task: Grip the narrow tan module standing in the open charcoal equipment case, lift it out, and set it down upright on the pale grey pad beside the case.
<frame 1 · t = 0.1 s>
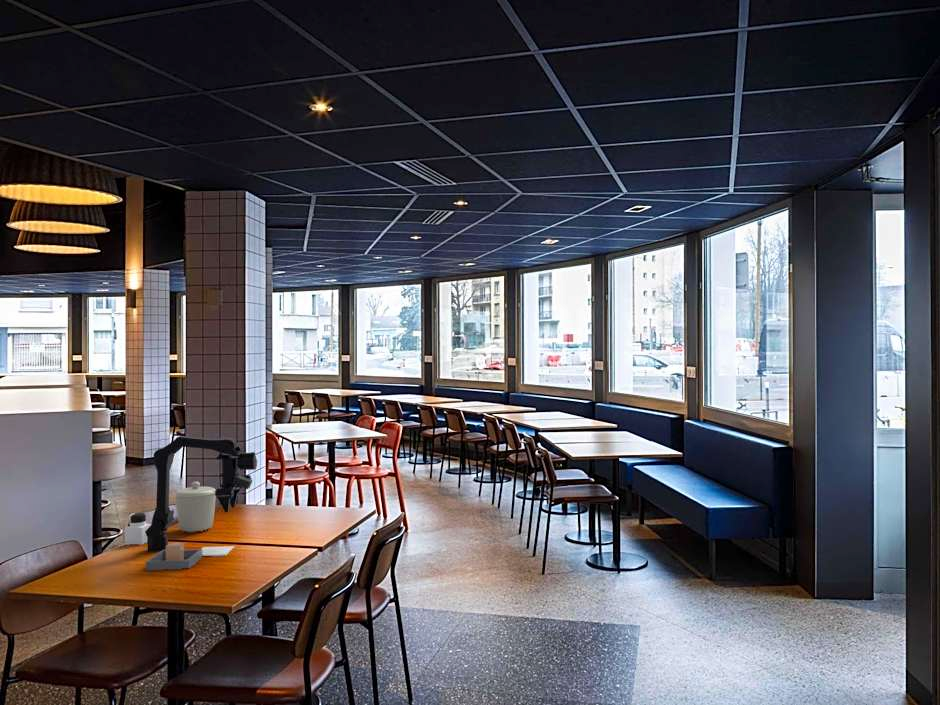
hand: (229, 510, 285), 15 cm above the table, tool pointing down, fingers open, 9 cm apart
tan module: (174, 554, 263), in the charcoal case
canister: (196, 530, 316), on the table
grey pad: (214, 552, 278), on the table
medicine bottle: (138, 543, 295), on the table
charcoal case: (175, 563, 263), on the table
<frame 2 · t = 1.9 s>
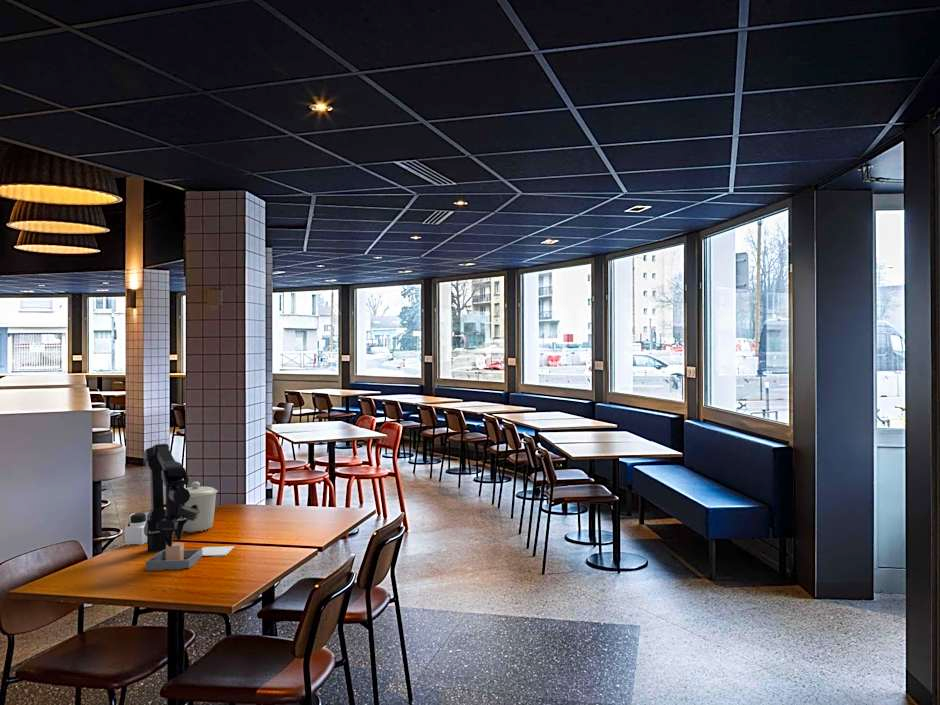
hand: (174, 543, 264), 7 cm above the table, tool pointing down, fingers open, 9 cm apart
nothing on the table moved.
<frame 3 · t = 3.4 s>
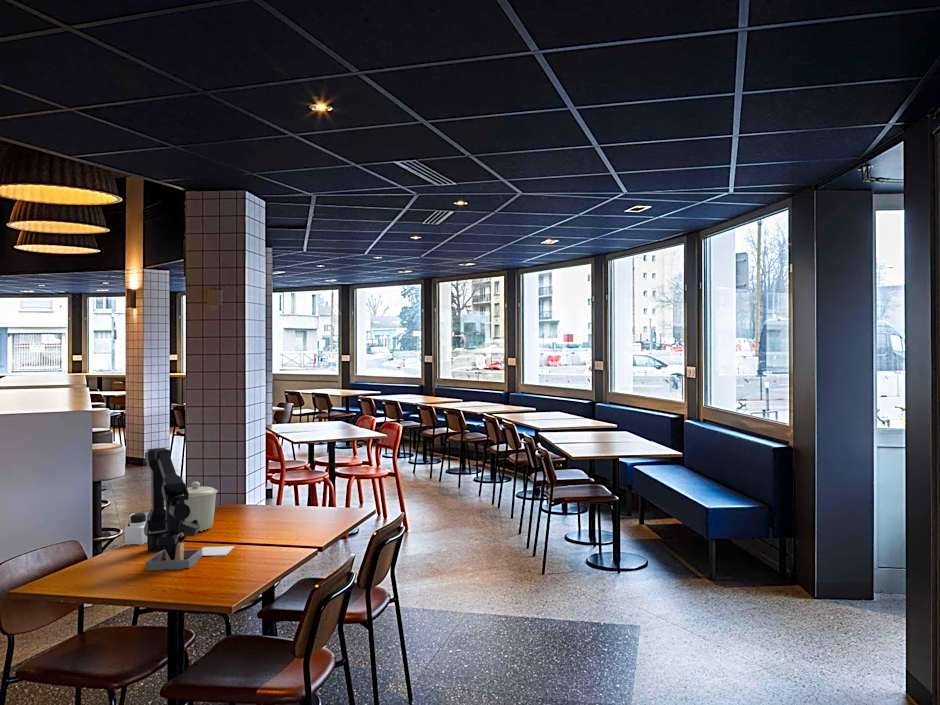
hand: (175, 558, 264), 2 cm above the table, tool pointing down, fingers closed on tan module, 4 cm apart
tan module: (174, 553, 264), in the charcoal case, touching gripper
everything else where it was.
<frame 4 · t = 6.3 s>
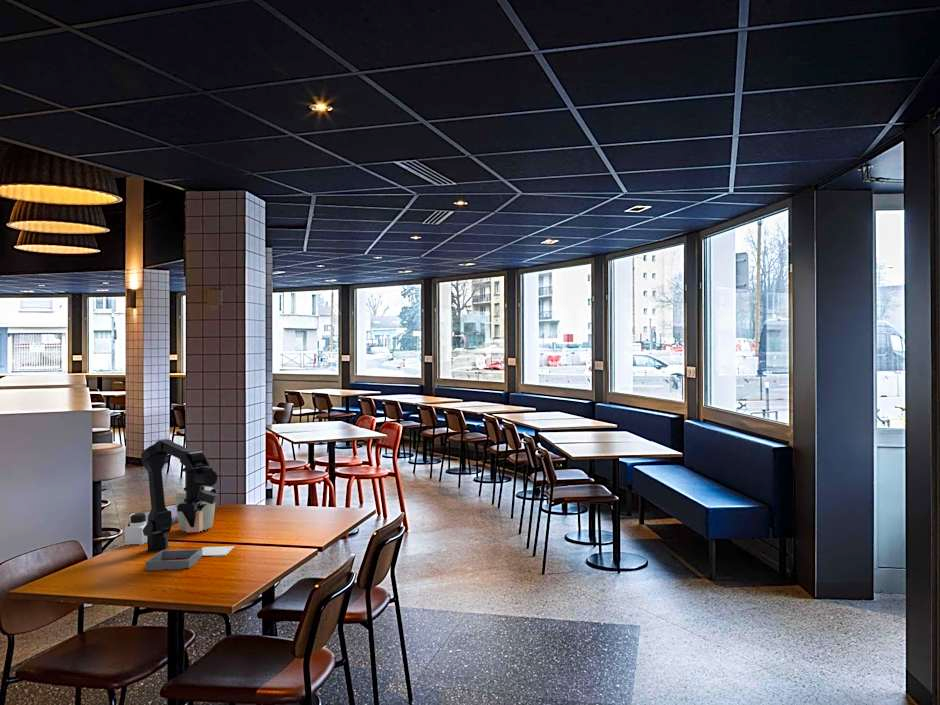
hand: (194, 525, 271), 12 cm above the table, tool pointing down, fingers closed on tan module, 4 cm apart
tan module: (194, 521, 271), point 14 cm above the table, touching gripper
everything else where it was.
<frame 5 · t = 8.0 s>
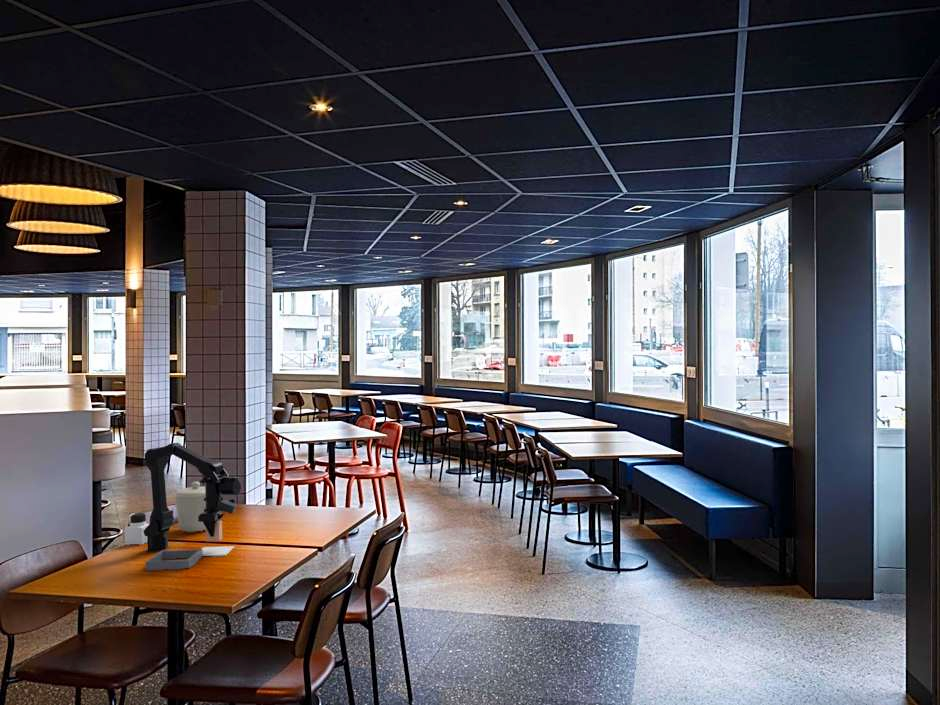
hand: (213, 535, 278), 7 cm above the table, tool pointing down, fingers closed on tan module, 4 cm apart
tan module: (213, 530, 278), point 8 cm above the table, touching gripper
everything else where it was.
when the fingers open (4 cm above the table, at t = 9.2 s): tan module drops 1 cm, resting on grey pad.
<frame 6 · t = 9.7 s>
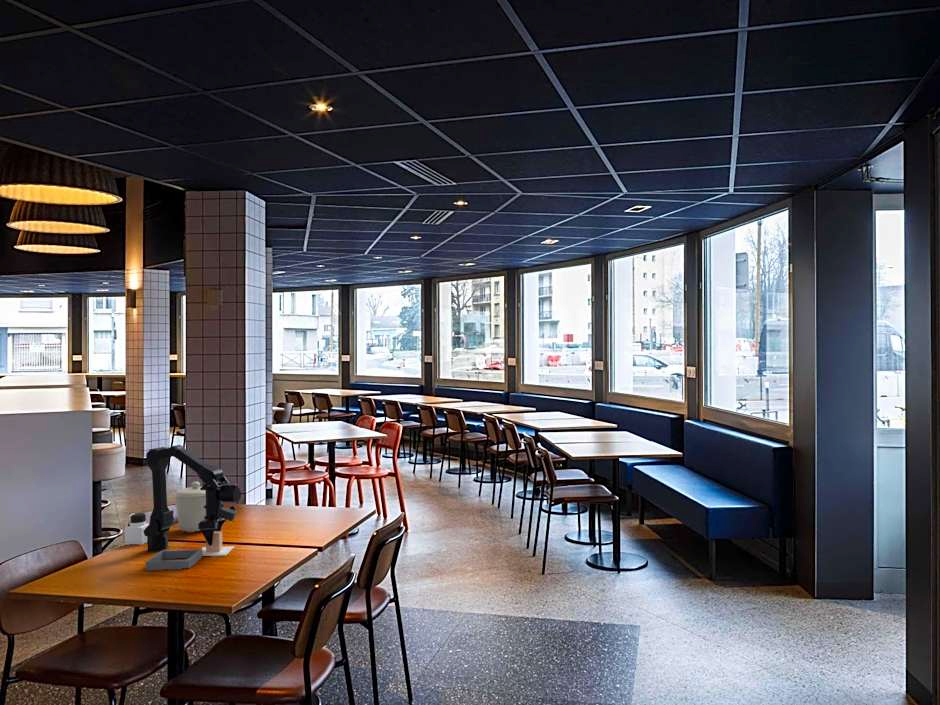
hand: (214, 542, 278), 4 cm above the table, tool pointing down, fingers open, 9 cm apart
tan module: (214, 541, 278), on the grey pad, point 4 cm above the table
everything else where it was.
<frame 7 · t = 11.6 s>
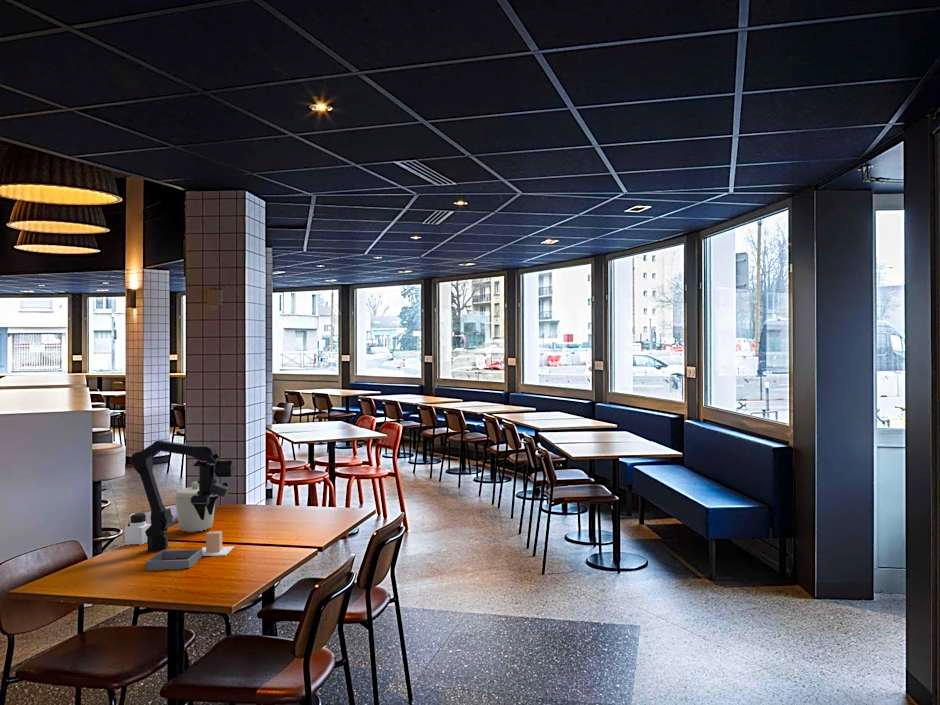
hand: (206, 517, 285), 12 cm above the table, tool pointing down, fingers open, 9 cm apart
nothing on the table moved.
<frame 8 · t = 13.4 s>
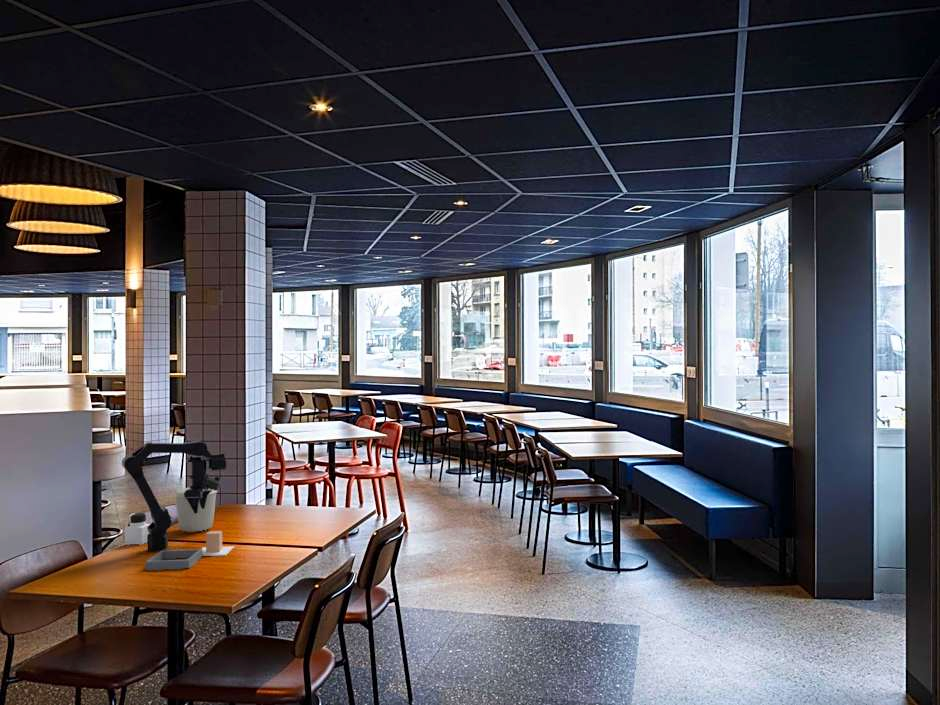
hand: (199, 510, 293), 13 cm above the table, tool pointing down, fingers open, 9 cm apart
nothing on the table moved.
at the end: tan module inside the target area on the grey pad (0.0 cm from its centre), point 4.1 cm above the grey pad's base; tan module tilted 0°; the gripper is holding nothing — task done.
